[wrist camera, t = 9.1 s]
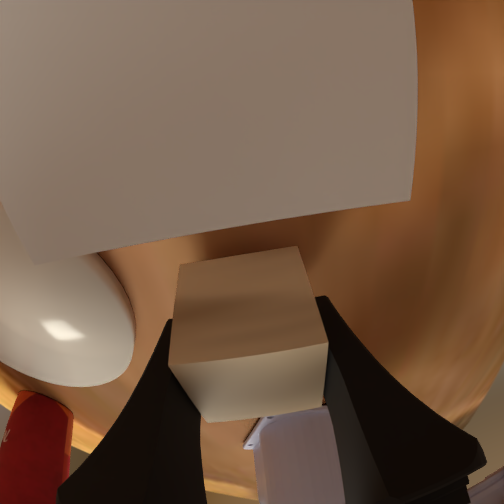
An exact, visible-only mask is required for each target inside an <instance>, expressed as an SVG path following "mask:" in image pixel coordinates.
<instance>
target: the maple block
mask: <svg viewBox="0 0 504 504" xmlns="http://www.w3.org/2000/svg"><path fill="white" fill-rule="evenodd" d="M328 343H329V342H328V339H327V336H326V332H325V329H324V326H323V323H322V319H321V316H320V313H319V310H318V307H317V304H316V301H315V297H314V294H313V291H312V288H311V285H310V282H309V279H308V276H307V273H306V270H305V267H304V264H303V261H302V258H301V255H300V252H299V249H298V246H292V247H286V248H280V249H273V250H267V251H261V252H255V253H249V254H243V255H236V256H230V257H224V258H218V259H212V260H206V261H199V262H193V263H187V264H181V265H180V266H179V273H178V281H177V288H176V296H175V304H174V312H173V321H172V330H171V340H170V350H169V361H168V366H169V367H170V369H171V371H172V372H173V374H174V375H175V377H176V378H177V380H178V381H179V383H180V384H181V386H182V387H183V389H184V390H185V392H186V393H187V395H188V396H189V398H190V399H191V400H192V402H193V403H194V405H195V406H196V408H197V409H198V410H199V412H200V413H201V415H202V416H203V417H204V419H205V420H206V421H207V423H210V422H223V421H233V420H243V419H251V418H259V417H266V416H273V415H280V414H286V413H292V412H297V411H303V410H308V409H313V408H318V407H322V399H323V391H324V383H325V374H326V364H327V354H328Z"/></svg>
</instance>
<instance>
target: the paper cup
mask: <svg viewBox="0 0 504 504" xmlns="http://www.w3.org/2000/svg"><path fill="white" fill-rule="evenodd" d="M73 419H74V417H73V413H72V412H71V411H70V410H69V409H68V408H67V407H65V406H64V405H62V404H61V403H59V402H57V401H55V400H53V399H51V398H49V397H47V396H44V395H42V394H39V393H36V392H32V391H20V392H19V394H18V396H17V399H16V401H15V404H14V406H13V409H12V412H11V415H10V418H9V420H8V424H7V427H6V430H5V433H4V436H3V440H2V443H1V447H0V504H56V494H57V488H58V487H59V486H60V485H61V484H62V483H63V482H64V481H65V480H66V479H68V478H69V466H70V453H71V441H72V430H73Z"/></svg>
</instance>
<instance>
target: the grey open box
mask: <svg viewBox="0 0 504 504" xmlns="http://www.w3.org/2000/svg"><path fill="white" fill-rule="evenodd" d="M417 110H418V69H417V45H416V31H415V19H414V10H413V1H412V0H0V201H1V203H2V205H3V207H4V209H5V211H6V213H7V215H8V217H9V219H10V221H11V223H12V225H13V227H14V229H15V231H16V233H17V235H18V237H19V239H20V240H21V242H22V244H23V246H24V248H25V249H26V251H27V253H28V255H29V256H30V258H31V260H32V262H33V263H34V265H39V264H44V263H48V262H53V261H58V260H62V259H67V258H72V257H77V256H82V255H86V254H91V253H96V252H101V251H106V250H111V249H116V248H122V247H127V246H132V245H137V244H142V243H148V242H153V241H158V240H164V239H169V238H174V237H180V236H186V235H191V234H197V233H202V232H208V231H214V230H220V229H225V228H231V227H237V226H243V225H249V224H255V223H261V222H267V221H273V220H280V219H286V218H292V217H299V216H305V215H312V214H318V213H325V212H331V211H338V210H345V209H352V208H359V207H366V206H373V205H380V204H388V203H395V202H403V201H410V199H411V191H412V182H413V173H414V162H415V150H416V134H417Z"/></svg>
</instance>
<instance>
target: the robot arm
mask: <svg viewBox="0 0 504 504" xmlns="http://www.w3.org/2000/svg"><path fill="white" fill-rule="evenodd" d="M315 301H316V304H317V307H318V310H319V313H320V316H321V319H322V323H323V326H324V329H325V332H326V336H327V339H328V342H329V343H328V354H327V364H326V374H325V383H324V391H323V395H324V398H325V401H326V404H327V405H325V406H322V407H318V408H313V409H308V410H303V411H297V412H292V413H286V414H280V415H273V416H266V417H261V418H260V420H259V421H258V423H257V424H256V426H255V427H254V429H253V430H252V432H251V433H250V435H249V436H248V438H247V439H246V441H245V442H244V444H243V449H253V452H254V462H255V471H256V481H257V490H258V498H259V502H260V504H504V466H503V467H501V468H500V469H498V470H497V471H495V472H493V473H492V474H490V475H488V476H487V477H485V479H484V480H483V481H481V482H479V483H478V484H476V485H474V486H472V487H471V488H469V489H467V487H466V485H467V484H469V479H468V476H467V475H469V474H471V473H473V472H474V471H476V470H478V469H480V468H482V467H483V466H485V465H486V463H487V460H486V457H485V455H484V452H483V449H482V447H481V446H480V444H479V442H478V440H477V438H475V437H473V436H472V435H470V434H468V433H466V432H465V431H463V430H461V429H460V428H458V427H456V426H455V425H453V424H452V423H450V422H449V421H447V420H446V419H444V418H443V417H441V416H440V415H438V414H437V413H436V412H434V411H433V410H432V409H430V408H429V407H428V406H427V405H425V404H424V403H423V402H421V401H420V400H419V399H418V398H416V397H415V396H414V395H413V394H412V393H410V392H409V391H408V390H407V389H406V388H405V387H404V386H402V385H401V384H400V383H399V382H398V381H397V380H396V379H395V378H394V377H393V376H392V375H391V374H390V373H389V372H388V371H387V370H386V369H385V368H384V367H383V366H382V365H381V364H380V363H379V362H378V361H377V360H376V359H375V358H374V356H373V355H372V354H371V353H370V352H369V351H368V350H367V349H366V347H365V346H364V345H363V344H362V343H361V341H360V340H359V339H358V338H357V337H356V335H355V334H354V333H353V332H352V330H351V329H350V328H349V327H348V325H347V324H346V323H345V321H344V320H343V319H342V317H341V316H340V314H339V313H338V312H337V310H336V309H335V307H334V306H333V304H332V303H331V301H330V300H329V298H328V297H327V296H319V297H315ZM172 321H173V319H168V321H167V322H166V324H165V327H164V329H163V331H162V334H161V336H160V338H159V341H158V343H157V345H156V347H155V349H154V352H153V354H152V356H151V358H150V360H149V362H148V364H147V366H146V368H145V370H144V373H143V375H142V376H141V378H140V380H139V382H138V384H137V386H136V388H135V389H134V391H133V393H132V395H131V397H130V399H129V400H128V402H127V404H126V405H125V407H124V409H123V410H122V412H121V413H120V415H119V417H118V418H117V420H116V421H115V423H114V424H113V425H112V427H111V428H110V430H109V431H108V432H107V434H106V435H105V437H104V438H103V439H102V441H101V442H100V443H99V445H98V446H97V447H96V448H95V449H94V450H93V452H92V453H91V454H90V455H89V456H88V458H87V459H86V460H85V461H84V462H83V463H82V465H81V466H80V467H79V468H78V469H77V470H76V471H75V472H74V473H73V474H72V475H71V476H70V477H69V478H68V479H66V480H65V481H64V482H63V483H62V484H61V485H60V486H59V487H58V488H57V494H56V504H207V500H206V493H205V486H204V478H203V469H202V459H201V447H200V423H201V413H200V412H199V410H198V409H197V408H196V406H195V405H194V403H193V402H192V400H191V399H190V398H189V396H188V395H187V393H186V392H185V390H184V389H183V387H182V386H181V384H180V383H179V381H178V380H177V378H176V377H175V375H174V374H173V372H172V371H171V369H170V367H169V366H168V361H169V350H170V340H171V330H172Z"/></svg>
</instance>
